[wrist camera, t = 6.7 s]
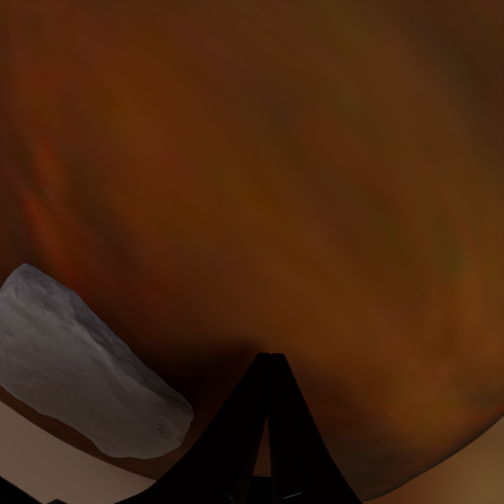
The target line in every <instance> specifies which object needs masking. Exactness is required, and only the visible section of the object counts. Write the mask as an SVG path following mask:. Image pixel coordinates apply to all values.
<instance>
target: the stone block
mask: <svg viewBox="0 0 504 504" xmlns="http://www.w3.org/2000/svg"><path fill="white" fill-rule="evenodd" d="M0 385H1V386H3V387H4V388H5V389H6V390H7V391H8V392H9V393H10V394H12V395H13V396H14V397H15V398H17V399H19V400H21V401H22V402H24V403H26V404H27V405H29V406H31V407H32V408H33V409H35V410H36V411H37V412H39V413H41V414H44V415H47V416H51V417H54V418H56V419H58V420H60V421H61V422H63V423H65V424H67V425H69V426H71V427H73V428H74V429H76V430H77V431H79V432H80V433H82V434H83V435H84V436H85V437H87V438H88V439H90V440H92V441H93V442H94V444H95V445H96V446H97V447H98V448H99V450H100V451H101V452H103V453H105V454H107V455H109V456H112V457H117V458H121V457H129V456H132V457H135V458H141V459H148V458H154V457H160V456H163V455H164V454H166V453H168V452H170V451H172V450H174V449H176V448H177V447H178V446H180V445H181V444H182V442H183V440H184V438H185V435H186V433H187V431H188V429H189V427H190V422H191V421H192V419H193V418H194V412H193V410H192V406H191V405H190V403H189V402H188V401H187V400H186V399H185V398H184V397H183V396H182V395H181V394H180V393H178V392H177V391H176V390H174V389H172V388H171V387H170V386H169V385H168V384H167V383H166V382H164V381H163V379H162V378H161V377H159V376H158V375H157V374H156V373H155V372H154V371H152V370H151V369H150V368H148V367H146V366H145V365H144V364H143V363H142V362H141V361H140V359H138V357H137V356H136V355H135V354H133V353H132V351H131V350H130V348H129V347H128V345H126V344H125V343H124V342H123V341H122V340H121V339H120V338H118V337H117V336H116V335H115V334H114V333H113V332H112V331H111V330H110V329H109V328H108V327H107V325H106V324H105V323H104V322H103V321H102V320H100V319H99V318H98V317H97V316H96V315H95V314H94V313H93V312H92V311H91V310H90V309H89V308H88V306H87V305H86V304H85V303H84V302H83V300H82V299H81V298H80V297H79V296H78V295H77V294H76V293H75V292H74V291H73V290H71V289H69V288H67V287H65V286H63V285H62V284H60V283H58V282H57V281H56V280H54V279H52V278H51V277H50V276H48V275H46V274H44V273H43V272H41V271H40V270H38V269H37V268H35V267H33V266H31V265H29V264H26V263H23V264H22V265H21V266H20V267H18V268H17V269H15V270H14V271H13V272H12V273H11V275H10V276H9V277H8V278H7V280H6V281H5V283H4V284H3V286H2V287H1V289H0Z"/></svg>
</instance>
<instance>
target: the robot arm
mask: <svg viewBox="0 0 504 504" xmlns="http://www.w3.org/2000/svg"><path fill="white" fill-rule="evenodd" d="M267 411H268V428H269V446H270V464H271V479H260V478H252V475H253V471H254V467H255V463H256V459H257V455H258V451H259V447H260V443H261V439H262V434H263V430H264V426H265V422H266V417H267ZM319 435H320V433H319V431H318V429H317V426H316V424H315V422H314V420H313V418H312V415H311V413H310V411H309V409H308V406H307V404H306V402H305V400H304V397H303V395H302V393H301V391H300V388H299V386H298V384H297V382H296V379H295V377H294V375H293V373H292V370H291V368H290V366H289V364H288V361H287V359H286V357H285V355H284V354H283V353H272V354H270V353H262V352H260V353H258V354H257V355H256V357H255V359H254V360H253V362H252V363H251V365H250V366H249V368H248V369H247V371H246V372H245V374H244V375H243V377H242V378H241V379H240V381H239V382H238V384H237V385H236V387H235V388H234V390H233V391H232V393H231V394H230V396H229V397H228V398H227V400H226V401H225V403H224V404H223V406H222V407H221V408H220V410H219V411H218V413H217V414H216V415H215V417H214V418H213V420H212V421H211V422H210V424H209V425H208V426H207V429H205V430H204V432H203V433H202V434H201V436H200V437H199V438H198V440H197V441H196V442H195V443H194V445H193V446H192V447H191V448H190V449H189V450H188V451H187V452H186V454H185V455H184V456H183V457H182V458H181V459H180V460H179V461H178V462H177V463H176V464H175V465H174V466H173V467H171V468H170V469H169V470H168V471H167V472H166V473H165V474H164V475H163V476H162V477H161V478H160V479H159V480H157V481H156V482H155V483H154V484H153V485H152V486H150V487H149V488H148V489H146V490H144V491H143V492H141V493H139V494H137V495H135V496H132V497H130V498H128V499H125V500H122V501H120V502H117V503H115V504H362V502H361V501H360V500H359V499H358V497H357V496H356V495H355V493H354V492H353V490H352V489H351V487H350V486H349V484H348V483H347V481H346V480H345V478H344V477H343V475H342V474H341V472H340V471H339V469H338V468H337V466H336V464H335V463H334V461H333V459H332V458H331V456H330V454H329V452H328V450H327V448H326V446H325V444H324V442H323V439H322V437H321V436H319ZM0 504H42V503H41V502H39V501H38V500H36V499H35V498H33V497H32V496H30V495H29V494H27V493H26V492H24V491H23V490H21V489H20V488H18V487H17V486H15V485H14V484H12V483H11V482H9V481H7V480H6V479H4V478H3V477H1V476H0ZM47 504H67V503H65V502H63V501H61V500H59V499H55V500H53V501H51V502H49V503H47Z"/></svg>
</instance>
